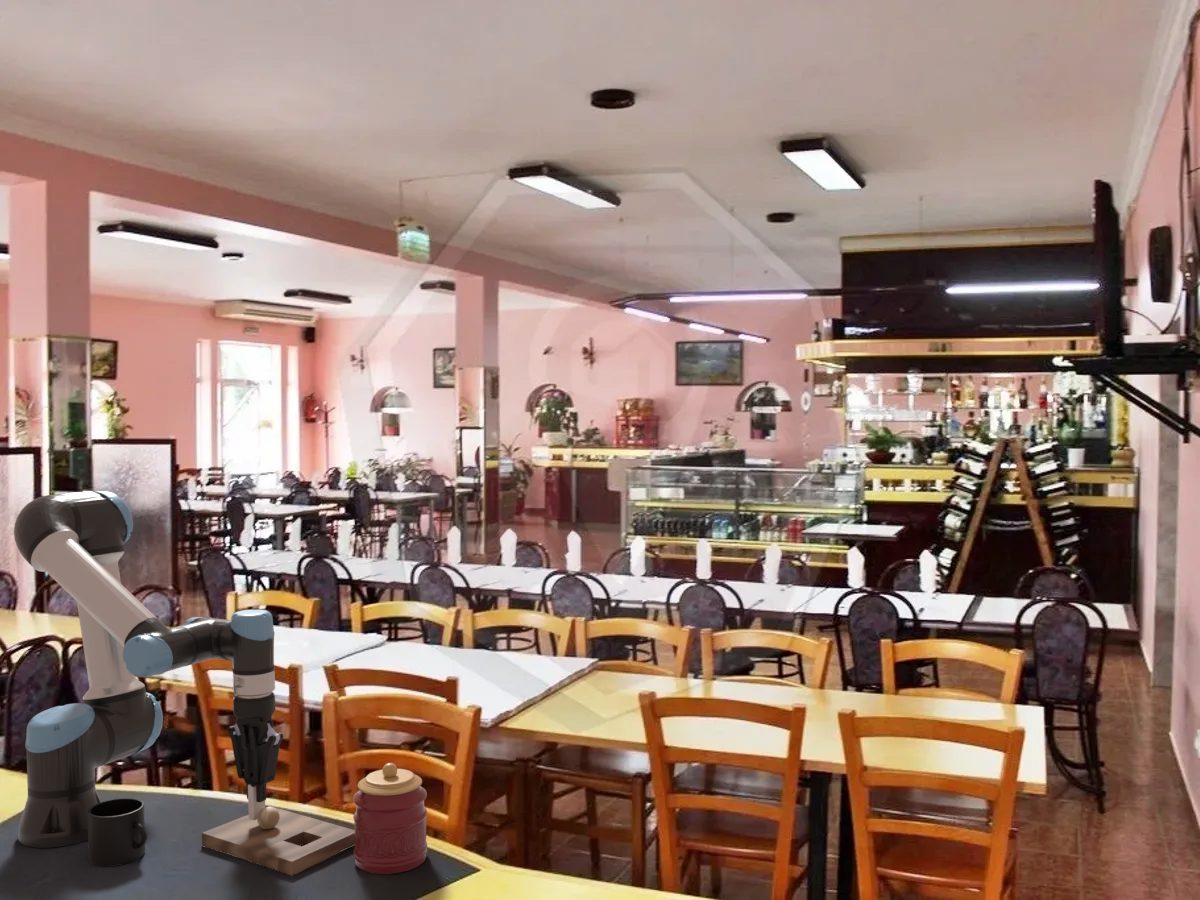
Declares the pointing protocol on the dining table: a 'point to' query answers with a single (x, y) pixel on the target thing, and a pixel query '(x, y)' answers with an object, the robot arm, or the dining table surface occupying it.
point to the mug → (116, 832)
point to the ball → (268, 818)
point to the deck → (281, 841)
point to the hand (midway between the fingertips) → (257, 817)
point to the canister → (390, 821)
